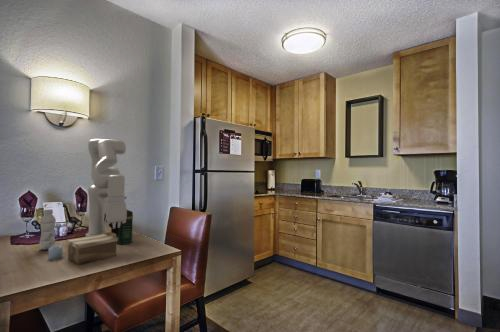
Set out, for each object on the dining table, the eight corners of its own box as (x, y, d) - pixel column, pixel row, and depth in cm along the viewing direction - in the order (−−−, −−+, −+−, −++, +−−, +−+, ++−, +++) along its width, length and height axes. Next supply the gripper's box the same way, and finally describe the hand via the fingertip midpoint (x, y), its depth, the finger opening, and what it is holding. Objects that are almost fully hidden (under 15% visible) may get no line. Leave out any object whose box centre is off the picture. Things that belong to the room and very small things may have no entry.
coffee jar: (133, 243, 148) (134, 210, 148) (118, 245, 143) (119, 211, 143) (129, 239, 155) (129, 208, 155) (114, 241, 150) (115, 209, 150)
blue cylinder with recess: (46, 258, 121) (47, 247, 121) (59, 255, 125) (60, 245, 125) (50, 260, 118) (51, 249, 118) (64, 257, 122) (64, 247, 122)
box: (68, 258, 120) (68, 243, 121) (104, 250, 133) (104, 236, 133) (79, 264, 113) (79, 248, 113) (116, 255, 126) (116, 241, 126)
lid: (66, 243, 120) (67, 236, 120) (104, 236, 134) (105, 230, 134) (78, 248, 113) (78, 241, 113) (117, 240, 126) (117, 234, 126)
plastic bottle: (46, 251, 130) (47, 211, 130) (35, 250, 131) (36, 210, 132) (58, 247, 136) (59, 209, 137) (47, 246, 138) (48, 208, 138)
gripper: (126, 197, 140) (125, 232, 140) (96, 199, 128) (95, 237, 128) (134, 198, 136) (133, 234, 136) (104, 201, 124) (103, 240, 123)
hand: (114, 235), depth 132 cm, fingers closed
